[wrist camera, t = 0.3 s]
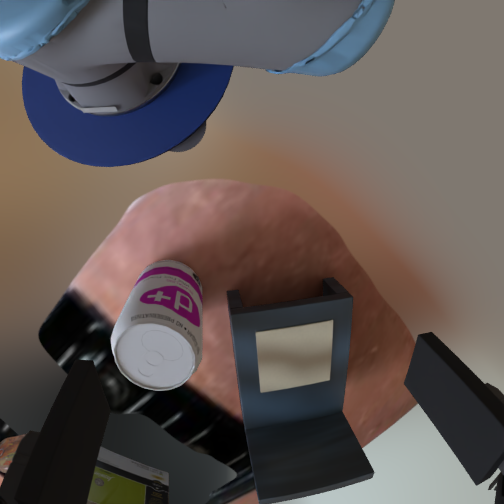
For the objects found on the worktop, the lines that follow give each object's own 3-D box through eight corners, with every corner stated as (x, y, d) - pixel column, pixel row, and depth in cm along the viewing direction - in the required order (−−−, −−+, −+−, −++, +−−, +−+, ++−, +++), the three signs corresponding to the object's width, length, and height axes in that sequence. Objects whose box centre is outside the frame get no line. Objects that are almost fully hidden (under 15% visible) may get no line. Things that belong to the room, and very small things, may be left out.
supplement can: (157, 245, 38) (131, 297, 23) (215, 281, 40) (221, 348, 26) (126, 297, 39) (93, 366, 25) (181, 329, 41) (174, 408, 27)
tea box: (84, 464, 47) (70, 521, 33) (97, 442, 45) (81, 506, 31) (151, 491, 51) (148, 547, 37) (171, 471, 50) (170, 535, 35)
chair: (226, 290, 40) (243, 386, 23) (333, 277, 42) (407, 352, 24) (241, 407, 46) (259, 505, 29) (327, 391, 48) (372, 478, 30)
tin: (36, 431, 44) (23, 462, 36) (47, 442, 45) (35, 472, 37) (-2, 439, 43) (-15, 464, 35) (8, 448, 44) (-4, 474, 36)
